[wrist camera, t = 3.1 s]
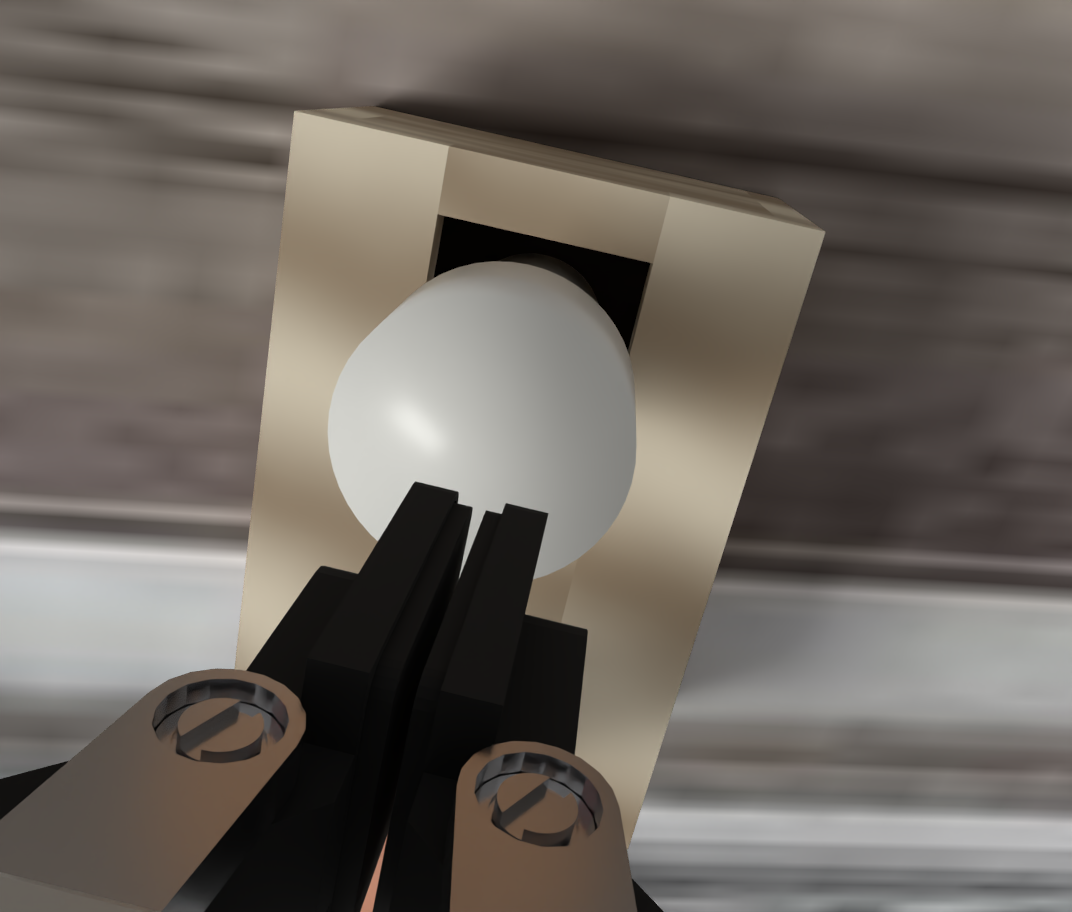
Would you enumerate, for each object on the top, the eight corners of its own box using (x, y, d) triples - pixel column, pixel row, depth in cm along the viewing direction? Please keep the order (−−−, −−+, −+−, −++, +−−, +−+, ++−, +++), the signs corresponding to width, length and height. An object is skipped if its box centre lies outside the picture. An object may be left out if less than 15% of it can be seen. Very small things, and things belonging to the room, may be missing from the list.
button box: (373, 106, 27) (294, 111, 21) (778, 198, 27) (825, 232, 21) (302, 628, 34) (225, 755, 28) (628, 703, 34) (628, 848, 27)
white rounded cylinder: (449, 199, 23) (349, 260, 15) (655, 246, 23) (671, 334, 15) (415, 396, 25) (310, 548, 17) (606, 440, 25) (595, 614, 17)
